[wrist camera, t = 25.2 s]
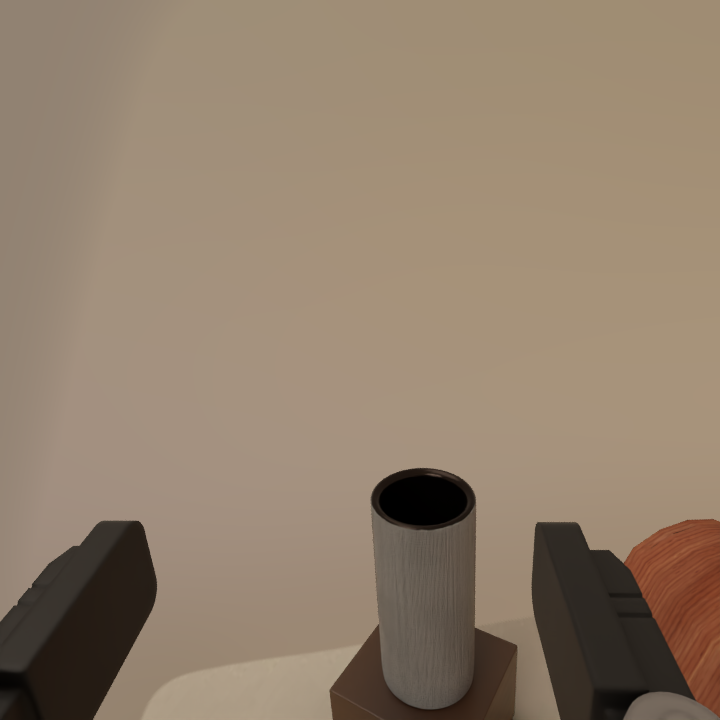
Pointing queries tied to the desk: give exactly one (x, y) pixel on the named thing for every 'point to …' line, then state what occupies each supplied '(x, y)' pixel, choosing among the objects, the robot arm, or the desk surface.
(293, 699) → the desk surface
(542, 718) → the desk surface
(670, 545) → the potted plant
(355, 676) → the block
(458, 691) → the grey cylindrical cup
